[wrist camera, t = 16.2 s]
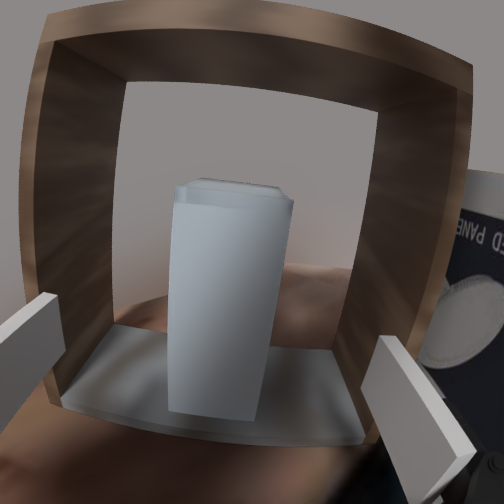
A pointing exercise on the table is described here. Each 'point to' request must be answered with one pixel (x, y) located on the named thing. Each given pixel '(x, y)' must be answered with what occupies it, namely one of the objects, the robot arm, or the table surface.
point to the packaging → (472, 315)
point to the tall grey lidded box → (223, 294)
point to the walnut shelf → (254, 76)
